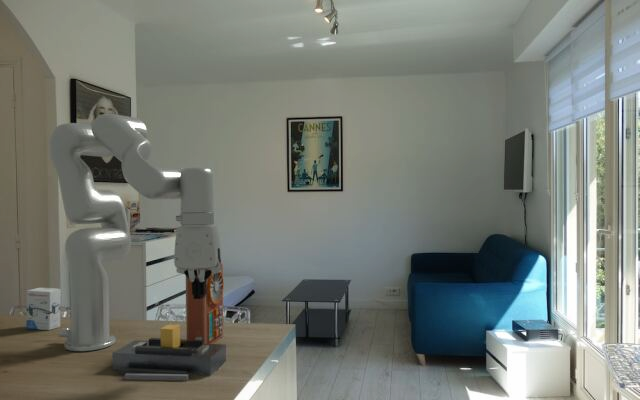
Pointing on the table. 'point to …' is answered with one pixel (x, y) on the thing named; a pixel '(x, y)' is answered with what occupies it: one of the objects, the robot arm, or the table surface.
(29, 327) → the ink box
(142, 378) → the grey square bar
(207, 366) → the slider track
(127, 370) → the dark grey long bar
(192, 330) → the control panel
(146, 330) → the table surface
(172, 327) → the yellow block
